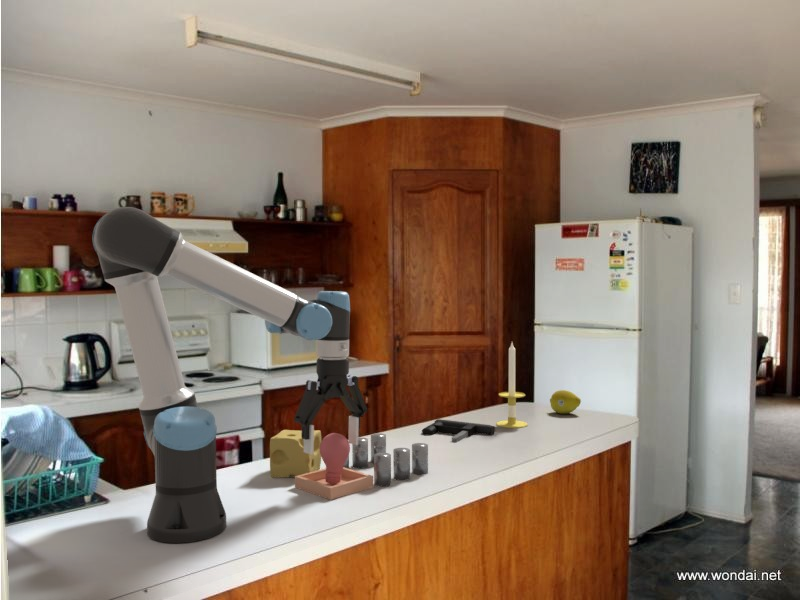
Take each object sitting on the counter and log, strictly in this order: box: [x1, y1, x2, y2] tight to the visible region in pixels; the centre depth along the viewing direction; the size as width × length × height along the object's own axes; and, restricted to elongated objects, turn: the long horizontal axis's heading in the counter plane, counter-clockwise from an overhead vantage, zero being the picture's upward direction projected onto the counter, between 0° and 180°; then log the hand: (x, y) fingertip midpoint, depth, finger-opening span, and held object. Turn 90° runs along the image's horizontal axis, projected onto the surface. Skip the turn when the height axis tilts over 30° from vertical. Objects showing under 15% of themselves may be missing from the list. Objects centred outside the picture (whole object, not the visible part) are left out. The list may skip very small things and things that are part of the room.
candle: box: [495, 342, 528, 429], centre depth 239 cm, size 10×10×27 cm
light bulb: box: [319, 432, 351, 485], centre depth 175 cm, size 7×7×12 cm
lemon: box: [549, 389, 582, 415], centre depth 256 cm, size 11×8×8 cm
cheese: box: [269, 429, 323, 479], centre depth 187 cm, size 10×11×10 cm
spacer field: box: [343, 432, 429, 488], centre depth 187 cm, size 17×19×7 cm
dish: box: [294, 467, 374, 501], centre depth 175 cm, size 13×13×3 cm
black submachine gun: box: [421, 418, 496, 443], centre depth 227 cm, size 3×20×16 cm
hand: (331, 448), depth 175 cm, fingers open, 13 cm apart
